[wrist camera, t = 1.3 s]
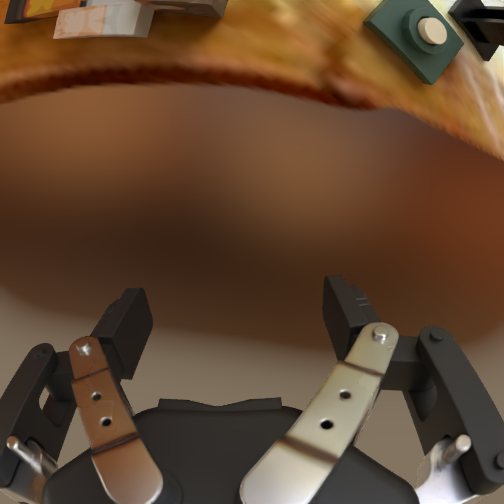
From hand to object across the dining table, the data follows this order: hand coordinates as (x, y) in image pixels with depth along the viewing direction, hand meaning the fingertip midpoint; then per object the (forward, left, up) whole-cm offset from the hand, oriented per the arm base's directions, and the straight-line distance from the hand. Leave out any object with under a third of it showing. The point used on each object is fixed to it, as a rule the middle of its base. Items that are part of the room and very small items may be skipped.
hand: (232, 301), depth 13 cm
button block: (-9, +28, -28) cm, 40 cm away
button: (-9, +28, -24) cm, 38 cm away
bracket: (-11, +42, -28) cm, 51 cm away
